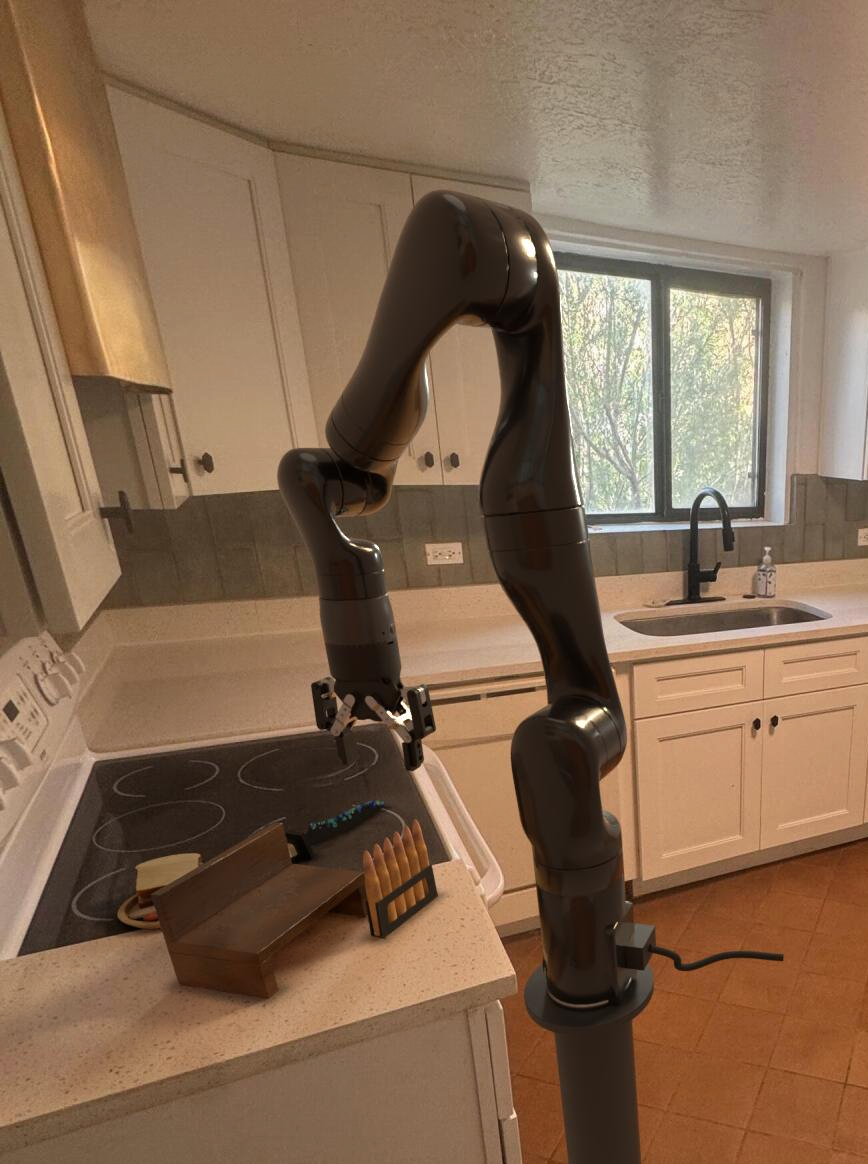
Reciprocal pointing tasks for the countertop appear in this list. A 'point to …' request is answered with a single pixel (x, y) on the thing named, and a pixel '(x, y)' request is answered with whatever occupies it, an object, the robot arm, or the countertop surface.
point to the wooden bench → (248, 912)
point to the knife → (329, 828)
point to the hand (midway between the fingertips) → (382, 765)
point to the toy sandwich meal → (154, 887)
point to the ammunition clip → (397, 881)
